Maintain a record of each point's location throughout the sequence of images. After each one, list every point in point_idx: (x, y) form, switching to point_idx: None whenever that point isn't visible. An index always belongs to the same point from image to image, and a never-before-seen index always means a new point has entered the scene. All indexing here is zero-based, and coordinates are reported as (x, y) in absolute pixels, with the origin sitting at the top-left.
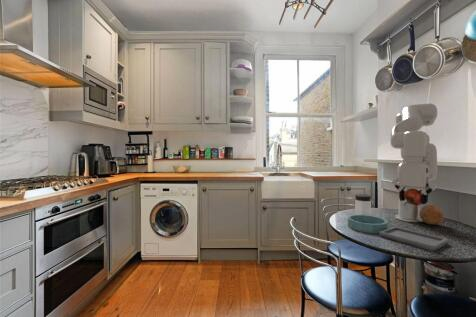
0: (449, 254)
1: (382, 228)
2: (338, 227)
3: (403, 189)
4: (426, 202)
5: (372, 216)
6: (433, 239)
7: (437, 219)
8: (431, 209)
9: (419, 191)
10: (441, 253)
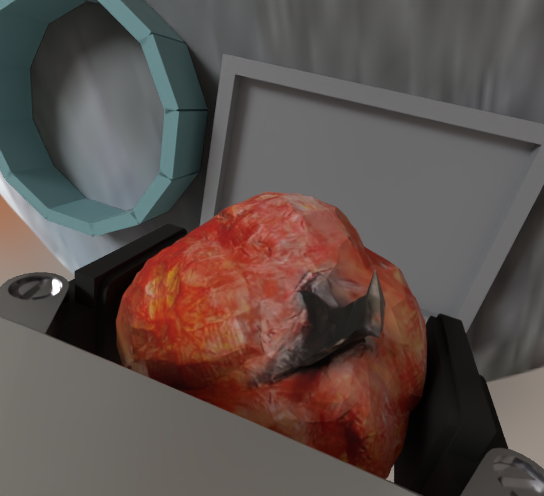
0: (529, 324)
1: (186, 174)
2: (37, 225)
3: (55, 324)
4: (461, 324)
5: None
6: (469, 149)
7: None
8: None
9: (340, 347)
10: (490, 330)
